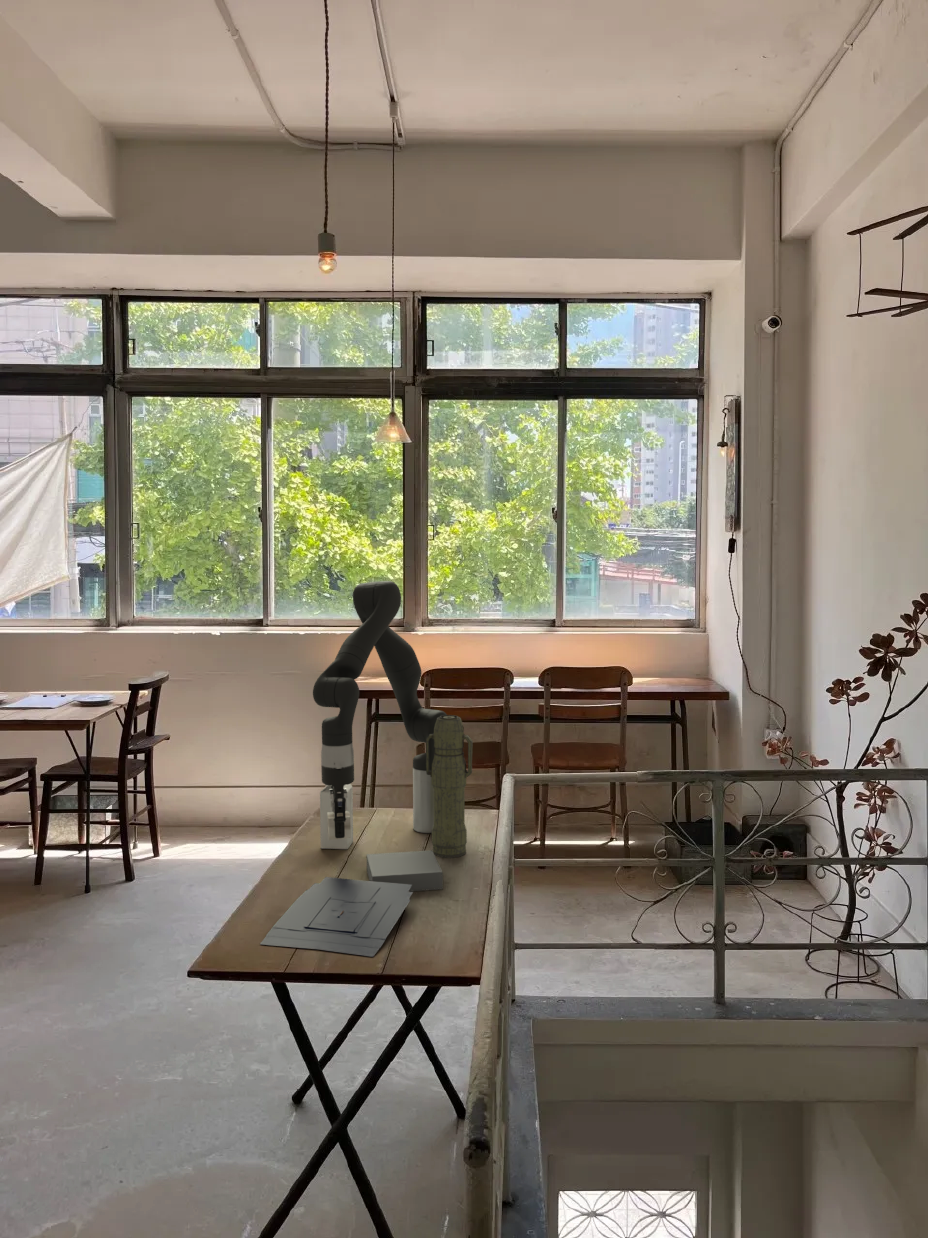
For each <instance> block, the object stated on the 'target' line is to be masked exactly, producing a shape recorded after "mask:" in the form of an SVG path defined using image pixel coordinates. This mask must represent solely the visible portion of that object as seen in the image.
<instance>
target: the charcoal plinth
mask: <svg viewBox="0 0 928 1238" xmlns="http://www.w3.org/2000/svg"><path fill="white" fill-rule="evenodd" d="M366 873H367V877H368V881H374V882H386V883H398V884H410V885H412V886H411V888H410V889H409V891H408V892H421V891H432V890H435V891H436V890H443V889H444V887H443V885H444V884H443V881H444V880H443V877H444V876H443V870H442V868H441V865H440V864H439V862H438V860H437V858H436V855H434V853H433V849H432V850H414V851H398V852H397V851H396V852H383V853H382V852H381V853H380V852H379V853H367V854H366Z"/></svg>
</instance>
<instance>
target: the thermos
mask: <svg viewBox="0 0 928 1238" xmlns="http://www.w3.org/2000/svg"><path fill="white" fill-rule="evenodd" d="M430 738H432V739H434V748H435V752H434V759H433V762H432V770H431V771H429V739H430ZM464 740H466V742H467V762H466V759H465V752H464V748H465V747H464V746H465V741H464ZM473 743H474V742H473V739H472V738H471V737H470V735H468V734H465V728H464V724H463V720H462V718H461V717H460V716H458V715H454V714H453V715H452V714H447V715H443V716H440V717H438V718H437V720H436V723H435V727H434V733H433V734H430V735H429V736H428V738H427V739H426V743H425V753H426V773H427V775H430V777H432V786H433V788H434V826H433V829H432V833H431V843H432V851H433V853H434V855H435V857H436V856H437V857H440V858H450V859H451V858H458V857H462V856H464V855H465V854H466V853H467V847H466V845H467V842H468V841H467V837H468V836H467V835H468V834H467V833H468V831H467V827H466V824H465V823H466V822H465V821H466V820H465V789H466V786H467V777H470V775H471V774H472V773H473V746H474V745H473Z"/></svg>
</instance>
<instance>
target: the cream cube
mask: <svg viewBox="0 0 928 1238" xmlns="http://www.w3.org/2000/svg"><path fill="white" fill-rule="evenodd" d="M327 816H328V837H329V840H333V839H348V838H351V830H350V814H349V811H345V818H346V820H345V822H344V826H345V837H344V838H336V837H335V822H334V812H327ZM337 816H343V813H337Z"/></svg>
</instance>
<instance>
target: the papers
mask: <svg viewBox="0 0 928 1238" xmlns="http://www.w3.org/2000/svg"><path fill="white" fill-rule="evenodd" d="M411 886H412V885H410V884H398V883H386V882H374V881H369V880H362V879H360V880H359V879H350V878H339V877H333V876H332V877H331V876H325V877H324V878H323V879H322V880H321V882H320V883H317V882H314V883H313V884H312V885H311V886H310V887H309V888H308V889H306V890H305V891H304V892H303V893H302V894H301V895H299V896H298V898H296V900H294V902H293V903H292V904H291V905H290V906H289V908H288V909H287V910H286V911H285V912H284V914H282V916H281V917H280V918H279V919H278V920H277V921H276V922H275V924H274V925H273V926H272V927H271V928H270V930H269V931H268V932H267V933H266V935H265V937H264V938H263V939H262V941H261V942H260V943H259V945H263V946H265V945H266V946H274V947H276V946H277V947H286V948H287V947H289V948H299V949H312V950H321V951H327V952H335V953H342V954H348V955H349V954H350V955H357V956H363V957H371V958H373V957H374V956H375V955H376V954H377V952H379V950H380V949H381V947H382V946H383V944H384V943H385V941H386V939H387V937H388V936H389V934H390V933H391V931H392V929H393V928H394V927H395V925H396V923H397V922H398V920H399V919H400V917H401V916H402V914H403V912H404V910H405V909H406V908H407V906H408V904H409V903H410V901H411V899H410V898H411V896H412V895H413V893H414V891H409V889H410V888H411Z"/></svg>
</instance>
